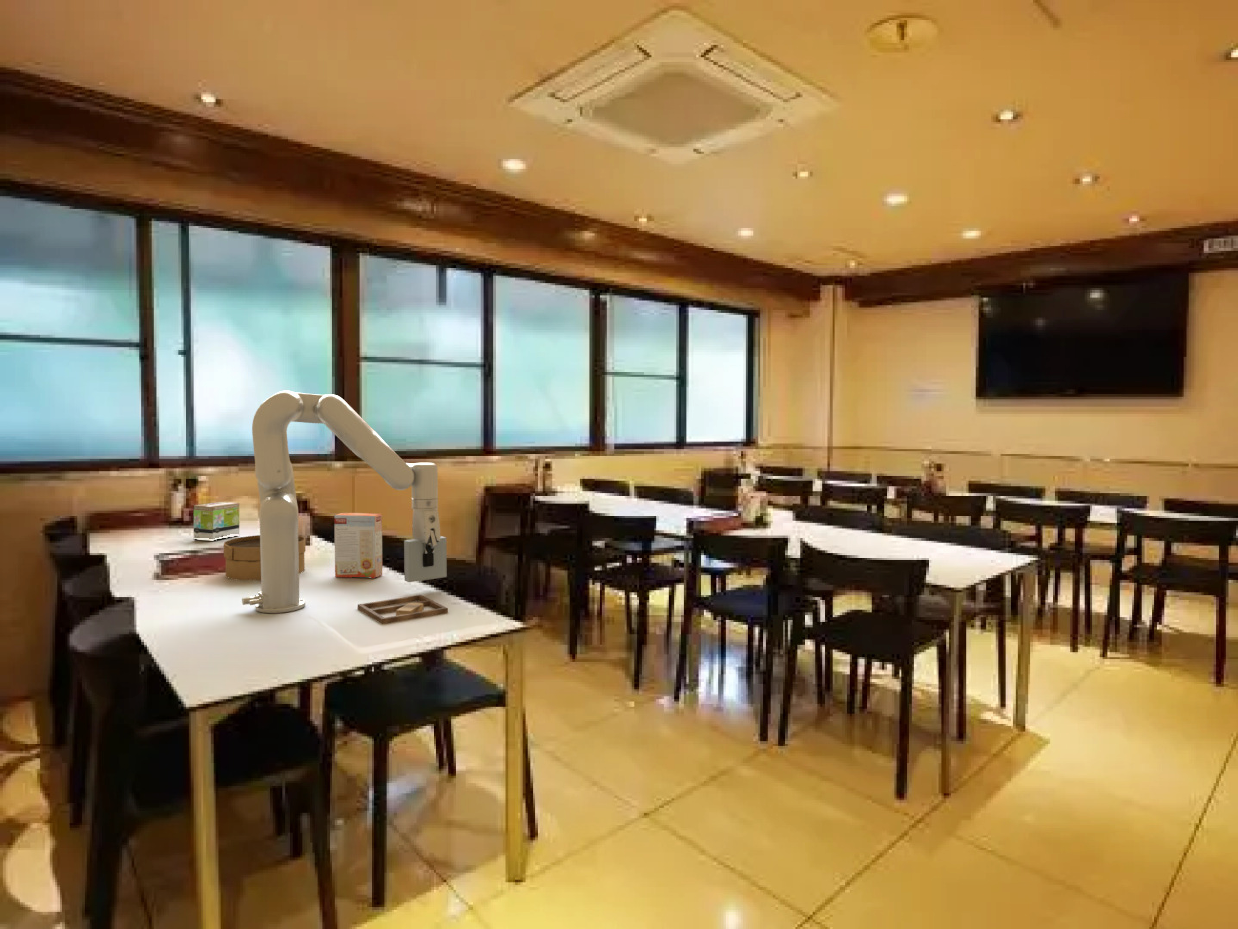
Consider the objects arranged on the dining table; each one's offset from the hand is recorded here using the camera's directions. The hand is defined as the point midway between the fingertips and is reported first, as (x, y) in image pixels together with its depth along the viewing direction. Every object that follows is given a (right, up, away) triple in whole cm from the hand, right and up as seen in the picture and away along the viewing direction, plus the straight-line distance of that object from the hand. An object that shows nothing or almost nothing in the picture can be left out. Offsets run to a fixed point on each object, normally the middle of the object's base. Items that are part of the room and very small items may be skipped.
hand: (425, 564), depth 219 cm
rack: (-1, -11, -21) cm, 24 cm away
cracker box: (-28, -7, +24) cm, 38 cm away
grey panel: (0, -4, 0) cm, 4 cm away
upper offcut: (+2, -10, -24) cm, 26 cm away
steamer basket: (-61, -7, +28) cm, 68 cm away
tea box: (-111, -1, +89) cm, 143 cm away
